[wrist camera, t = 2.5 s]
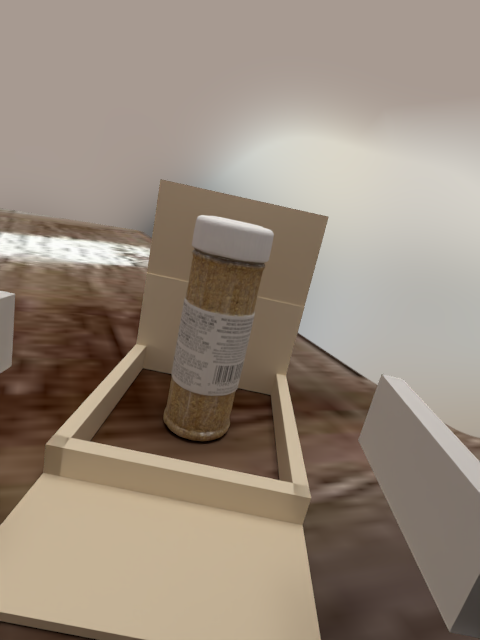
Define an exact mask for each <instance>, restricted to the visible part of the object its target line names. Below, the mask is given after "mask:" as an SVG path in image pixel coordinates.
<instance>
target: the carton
mask: <svg viewBox="0 0 480 640" xmlns="http://www.w3.org/2000/svg"><path fill="white" fill-rule="evenodd" d="M200 215H206V216H217V217H222V218H227V219H232V220H236V221H241V222H245V223H250V224H254V225H258V226H262V227H263V228H267V229H270V230H271V231H273V233H274V237H273V243H272V248H271V252H270V257H269V260H268V262H265V263H264V264H265V269H264V270H263V273H262V277H261V282H260V287H259V291H258V295H257V301H256V306H255V310H254V311H255V315H254V320H253V324H252V329H251V333H250V337H249V342H248V346H247V350H246V355H245V359H244V364H243V368H242V372H241V376H240V380H239V384H238V388H240V389H245V390H249V391H254V392H259V393H264V394H268V395H271V401H272V411H273V421H274V431H275V441H276V451H277V461H278V471H279V480H275V479H271V478H266V477H261V476H256V475H251V474H246V473H241V472H236V471H231V470H227V469H222V468H217V467H212V466H207V465H202V464H197V463H192V462H187V461H183V460H178V459H173V458H168V457H163V456H158V455H153V454H148V453H143V452H138V451H134V450H129V449H124V448H119V447H114V446H109V445H104V444H99V443H94V442H90V440H91V439H92V438H93V436H94V435H95V433H96V432H97V431H98V429H99V428H100V427H101V425H102V424H103V422H104V421H105V420H106V418H107V417H108V415H109V414H110V413H111V411H112V410H113V409H114V407H115V406H116V404H117V403H118V402H119V400H120V399H121V398H122V396H123V395H124V393H125V392H126V391H127V389H128V388H129V386H130V385H131V384H132V382H133V381H134V380H135V378H136V377H137V375H138V374H139V373H140V371H141V370H142V369H143V368H145V369H149V370H154V371H159V372H164V373H169V374H172V367H173V361H174V355H175V350H176V344H177V338H178V332H179V326H180V321H181V315H182V309H183V304H184V298H185V296H186V292H187V287H188V282H189V276H190V270H191V266H192V265H191V263H192V259H193V254H192V251H193V250H195V249H194V247H193V246H192V240H193V234H194V228H195V224H196V219H197V217H198V216H200ZM327 220H328V217H327V216H323V215H318V214H314V213H309V212H305V211H300V210H296V209H291V208H286V207H282V206H278V205H274V204H269V203H264V202H260V201H255V200H251V199H247V198H242V197H238V196H233V195H229V194H224V193H219V192H215V191H211V190H206V189H202V188H197V187H193V186H188V185H184V184H179V183H175V182H171V181H166V180H162V179H161V180H160V187H159V194H158V200H157V208H156V215H155V221H154V228H153V235H152V242H151V249H150V256H149V263H148V270H147V275H146V282H145V289H144V296H143V303H142V310H141V317H140V324H139V331H138V338H137V344H136V345H135V346H134V347H133V349H132V350H131V351H130V352H129V353H128V354H127V355H126V356H125V357H124V358H123V360H122V361H121V362H120V363H119V364H118V365H117V366H116V367H115V368H114V369H113V371H112V372H111V373H110V374H109V375H108V376H107V377H106V378H105V379H104V380H103V382H102V383H101V384H100V385H99V386H98V387H97V388H96V389H95V390H94V391H93V393H92V394H91V395H90V396H89V397H88V398H87V399H86V400H85V401H84V402H83V404H82V405H81V406H80V407H79V408H78V409H77V410H76V411H75V412H74V413H73V415H72V416H71V417H70V418H69V419H68V420H67V421H66V422H65V423H64V424H63V426H62V427H61V428H60V429H59V430H58V431H57V432H56V433H55V434H54V435H53V437H52V438H51V439H50V440H49V441H48V442H47V443H46V445H45V458H44V471H43V474H42V475H41V476H40V478H39V479H38V480H37V481H36V483H35V484H34V485H33V486H32V487H31V489H30V490H29V491H28V492H27V494H26V495H25V496H24V497H23V498H22V500H21V501H20V502H19V503H18V505H17V506H16V507H15V508H14V509H13V511H12V512H11V513H10V514H9V516H8V517H7V518H6V519H5V521H4V522H3V523H2V524H1V525H0V621H3V622H8V623H14V624H19V625H24V626H29V627H35V628H40V629H45V630H50V631H55V632H61V633H66V634H71V635H76V636H82V637H87V638H92V639H97V640H321V638H320V632H319V625H318V619H317V613H316V607H315V600H314V594H313V588H312V582H311V575H310V569H309V563H308V557H307V550H306V544H305V538H304V532H303V526H302V525H303V522H304V519H305V516H306V513H307V509H308V506H309V503H310V500H311V495H310V490H309V486H308V481H307V476H306V471H305V466H304V461H303V456H302V452H301V447H300V442H299V437H298V432H297V427H296V423H295V418H294V413H293V408H292V403H291V398H290V393H289V389H288V384H287V379H286V373H287V370H288V366H289V362H290V359H291V355H292V351H293V347H294V344H295V340H296V336H297V333H298V329H299V325H300V321H301V318H302V314H303V310H304V306H305V302H306V298H307V294H308V291H309V287H310V283H311V280H312V276H313V273H314V269H315V265H316V261H317V258H318V254H319V250H320V247H321V243H322V239H323V236H324V232H325V228H326V224H327Z"/></svg>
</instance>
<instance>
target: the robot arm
mask: <svg viewBox="0 0 480 640" xmlns="http://www.w3.org/2000/svg"><path fill="white" fill-rule="evenodd" d="M14 306H15V294H13V293H8V292H4V291H0V373H1V372H3V371H4V370H6V369H8V368H9V367H11V364H12V344H13V325H14ZM359 443H360V445H361V447H362V449H363V451H364V453H365V455H366V457H367V459H368V462H369V464H370V466H371V468H372V470H373V472H374V474H375V476H376V478H377V480H378V483H379V485H380V487H381V489H382V491H383V493H384V495H385V497H386V499H387V502H388V504H389V506H390V508H391V510H392V512H393V514H394V516H395V518H396V521H397V523H398V525H399V527H400V529H401V531H402V533H403V535H404V537H405V540H406V542H407V544H408V546H409V548H410V550H411V552H412V554H413V556H414V558H415V561H416V563H417V565H418V567H419V569H420V571H421V573H422V575H423V577H424V580H425V582H426V584H427V586H428V588H429V590H430V592H431V594H432V596H433V599H434V601H435V603H436V605H437V607H438V609H439V611H440V613H441V615H442V618H443V620H444V622H445V624H446V626H447V628H448V630H449V632H452V633H457V634H462V635H467V636H472V637H477V638H480V461H478V459H477V458H476V457H475V456H474V455H473V454H472V453H471V452H470V451H469V450H468V449H467V448H466V447H465V445H464V444H463V443H462V442H461V441H460V440H459V439H458V438H457V437H456V436H455V435H454V434H453V433H452V431H451V430H450V429H449V428H448V427H447V426H446V425H445V424H444V423H443V422H442V421H441V420H440V419H439V417H438V416H437V415H436V414H435V413H434V412H433V411H432V410H431V409H430V408H429V407H428V406H427V405H426V404H425V402H424V401H423V400H422V399H421V398H420V397H419V396H418V395H417V394H416V393H415V392H414V391H413V389H412V388H410V386H409V385H408V384H407V383H406V382H405V381H404V380H403V379H402V378H397V377H392V376H388V375H383V374H382V375H381V378H380V381H379V383H378V386H377V389H376V392H375V395H374V397H373V400H372V403H371V406H370V409H369V412H368V414H367V417H366V420H365V423H364V426H363V429H362V431H361V434H360V437H359Z"/></svg>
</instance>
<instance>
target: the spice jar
mask: <svg viewBox="0 0 480 640" xmlns="http://www.w3.org/2000/svg"><path fill="white" fill-rule="evenodd" d="M273 237H274V233H273V231H271V230H270V229H267V228H263V227H262V226H258V225H254V224H250V223H245V222H241V221H236V220H232V219H227V218H222V217H217V216H206V215H200V216H198V217H197V219H196V224H195V228H194V234H193V240H192V246H193V247H194V249H195V250H193V251H192V254H193V259H192V263H191V265H192V266H191V270H190V276H189V282H188V287H187V292H186V296H185V298H184V304H183V309H182V315H181V321H180V326H179V332H178V338H177V344H176V350H175V355H174V361H173V367H172V379H171V384H170V390H169V396H168V401H167V406H166V408H165V411H164V422H165V424H166V425H167V427H168V428H169V429H170V430H171V431H172V432H173V433H175V434H177V435H178V436H180V437H183V438H187V439H190V440H194V441H195V440H197V441H210V440H213V439H217V438H219V437H221V436H223V435H224V434H225V433H226V432H227V430H228V427H229V426H230V418H229V417H230V413H231V409H232V405H233V400H234V395H235V391H236V390H237V388H238V384H239V380H240V376H241V372H242V368H243V364H244V359H245V355H246V350H247V346H248V342H249V337H250V333H251V329H252V324H253V320H254V315H255V311H254V310H255V306H256V301H257V295H258V291H259V287H260V282H261V277H262V273H263V270H264V269H265V264H264V263H265V262H268V260H269V257H270V252H271V248H272V243H273Z"/></svg>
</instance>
